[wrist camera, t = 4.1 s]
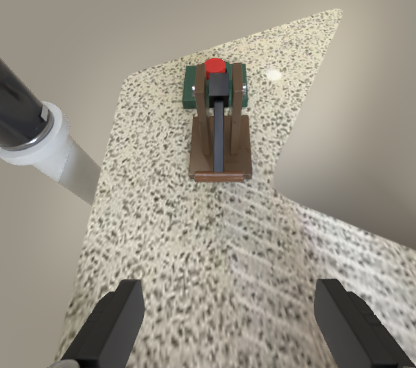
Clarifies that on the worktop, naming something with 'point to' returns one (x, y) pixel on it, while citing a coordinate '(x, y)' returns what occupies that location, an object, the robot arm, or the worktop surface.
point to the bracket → (233, 128)
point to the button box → (190, 80)
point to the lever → (218, 131)
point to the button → (214, 66)
